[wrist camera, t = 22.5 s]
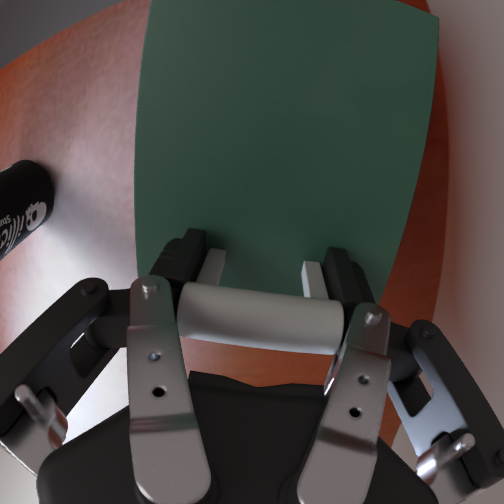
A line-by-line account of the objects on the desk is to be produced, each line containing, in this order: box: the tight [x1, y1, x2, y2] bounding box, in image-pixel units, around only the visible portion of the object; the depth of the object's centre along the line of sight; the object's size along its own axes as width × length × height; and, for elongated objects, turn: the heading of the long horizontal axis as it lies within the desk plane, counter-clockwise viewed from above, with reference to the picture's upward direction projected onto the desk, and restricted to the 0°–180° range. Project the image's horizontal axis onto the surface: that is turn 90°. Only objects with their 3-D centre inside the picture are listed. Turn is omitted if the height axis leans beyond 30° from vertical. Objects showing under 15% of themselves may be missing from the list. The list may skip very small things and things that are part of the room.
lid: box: [134, 0, 439, 355], centre depth 9 cm, size 14×12×6 cm
